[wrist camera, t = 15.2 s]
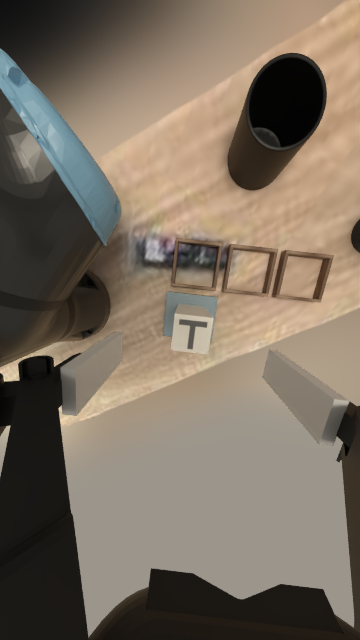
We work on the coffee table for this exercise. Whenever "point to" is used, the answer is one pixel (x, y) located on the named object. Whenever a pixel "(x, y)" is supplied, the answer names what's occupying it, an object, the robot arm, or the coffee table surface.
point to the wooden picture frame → (201, 243)
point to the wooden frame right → (321, 280)
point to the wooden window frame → (268, 274)
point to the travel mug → (356, 236)
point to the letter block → (192, 329)
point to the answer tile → (188, 299)
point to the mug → (276, 119)
